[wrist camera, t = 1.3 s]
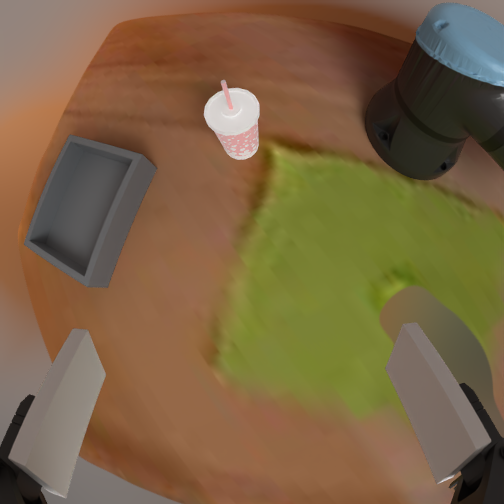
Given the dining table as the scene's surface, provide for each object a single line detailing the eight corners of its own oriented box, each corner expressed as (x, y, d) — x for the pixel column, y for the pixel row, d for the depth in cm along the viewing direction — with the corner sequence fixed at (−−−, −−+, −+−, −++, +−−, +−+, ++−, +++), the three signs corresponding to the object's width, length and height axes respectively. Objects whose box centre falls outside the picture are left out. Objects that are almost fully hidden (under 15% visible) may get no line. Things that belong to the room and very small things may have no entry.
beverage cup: (259, 168, 38) (247, 110, 24) (214, 161, 39) (183, 104, 25) (268, 128, 39) (261, 62, 25) (225, 123, 39) (202, 58, 26)
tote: (86, 146, 41) (69, 134, 37) (157, 168, 40) (142, 154, 35) (44, 248, 40) (23, 244, 35) (107, 287, 38) (87, 287, 33)
